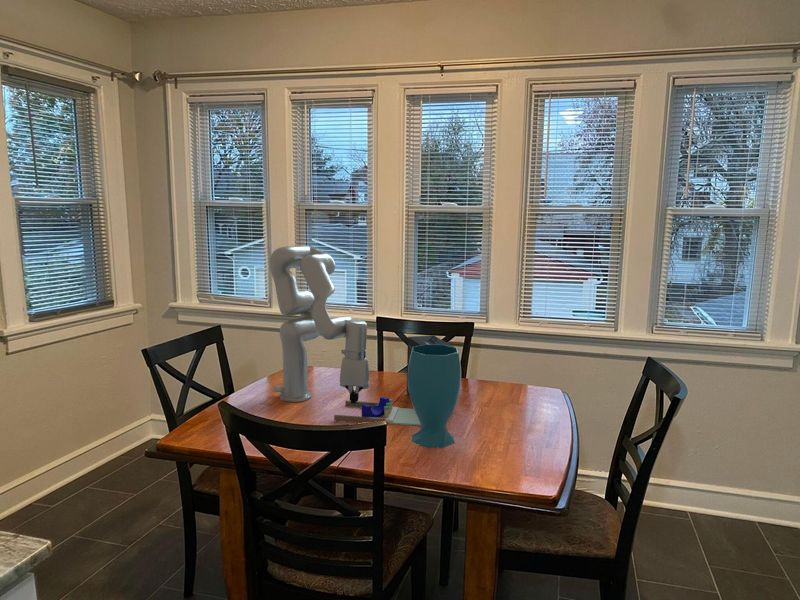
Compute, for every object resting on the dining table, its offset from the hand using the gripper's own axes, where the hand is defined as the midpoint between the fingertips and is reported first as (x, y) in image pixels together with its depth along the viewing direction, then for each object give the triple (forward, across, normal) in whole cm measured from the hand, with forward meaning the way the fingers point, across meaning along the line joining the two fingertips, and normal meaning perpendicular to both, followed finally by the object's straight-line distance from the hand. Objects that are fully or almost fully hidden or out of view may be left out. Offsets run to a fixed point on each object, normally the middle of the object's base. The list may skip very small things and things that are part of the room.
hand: (353, 402), depth 203 cm
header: (+4, +11, -1) cm, 12 cm away
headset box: (+4, +26, +19) cm, 33 cm away
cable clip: (+4, +8, -2) cm, 9 cm away
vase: (+3, +31, -19) cm, 36 cm away
